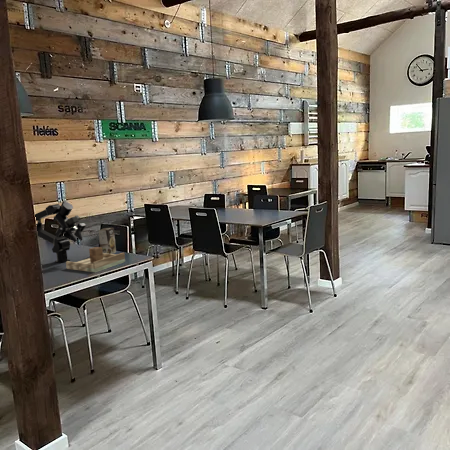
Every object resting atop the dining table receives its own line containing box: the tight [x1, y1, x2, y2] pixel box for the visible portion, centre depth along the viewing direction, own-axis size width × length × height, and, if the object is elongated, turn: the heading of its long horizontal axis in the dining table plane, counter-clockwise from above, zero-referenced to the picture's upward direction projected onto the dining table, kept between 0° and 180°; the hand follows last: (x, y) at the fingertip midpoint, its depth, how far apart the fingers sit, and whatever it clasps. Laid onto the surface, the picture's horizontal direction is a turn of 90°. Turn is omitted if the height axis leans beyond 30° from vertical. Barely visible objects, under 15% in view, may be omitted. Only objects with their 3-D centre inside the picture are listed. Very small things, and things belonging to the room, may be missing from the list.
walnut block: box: [88, 246, 103, 263], centre depth 256 cm, size 5×5×8 cm
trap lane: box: [65, 252, 126, 273], centre depth 257 cm, size 22×23×6 cm
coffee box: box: [98, 227, 117, 254], centre depth 283 cm, size 9×6×16 cm
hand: (79, 240), depth 261 cm, fingers open, 4 cm apart
